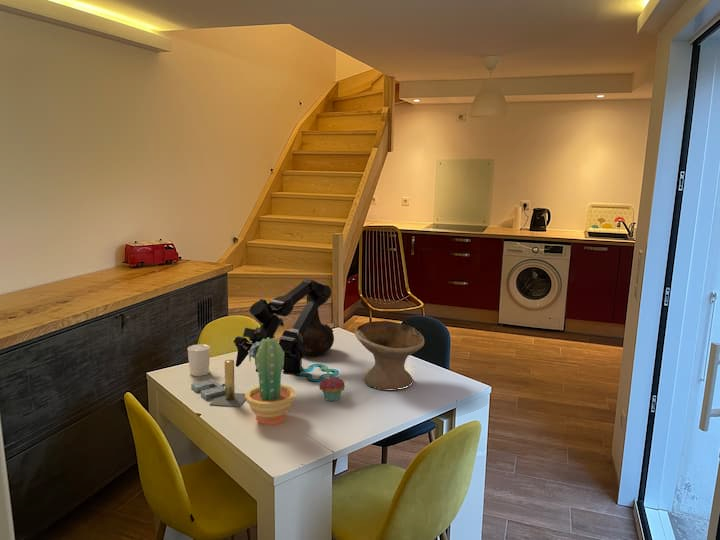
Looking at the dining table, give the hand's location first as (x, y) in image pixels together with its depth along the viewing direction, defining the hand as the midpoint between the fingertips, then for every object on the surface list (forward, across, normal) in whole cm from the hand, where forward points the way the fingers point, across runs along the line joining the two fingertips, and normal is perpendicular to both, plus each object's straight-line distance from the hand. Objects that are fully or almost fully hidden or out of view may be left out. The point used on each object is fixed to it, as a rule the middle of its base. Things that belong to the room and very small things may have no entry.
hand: (246, 369), depth 179 cm
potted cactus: (+14, +20, -2) cm, 24 cm away
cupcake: (-2, +27, +15) cm, 31 cm away
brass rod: (+11, 0, 0) cm, 11 cm away
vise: (+10, -10, +2) cm, 15 cm away
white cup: (+4, -27, +9) cm, 29 cm away
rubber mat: (+12, 0, 0) cm, 12 cm away
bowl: (-19, +36, +32) cm, 52 cm away
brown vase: (-27, -7, +40) cm, 49 cm away
